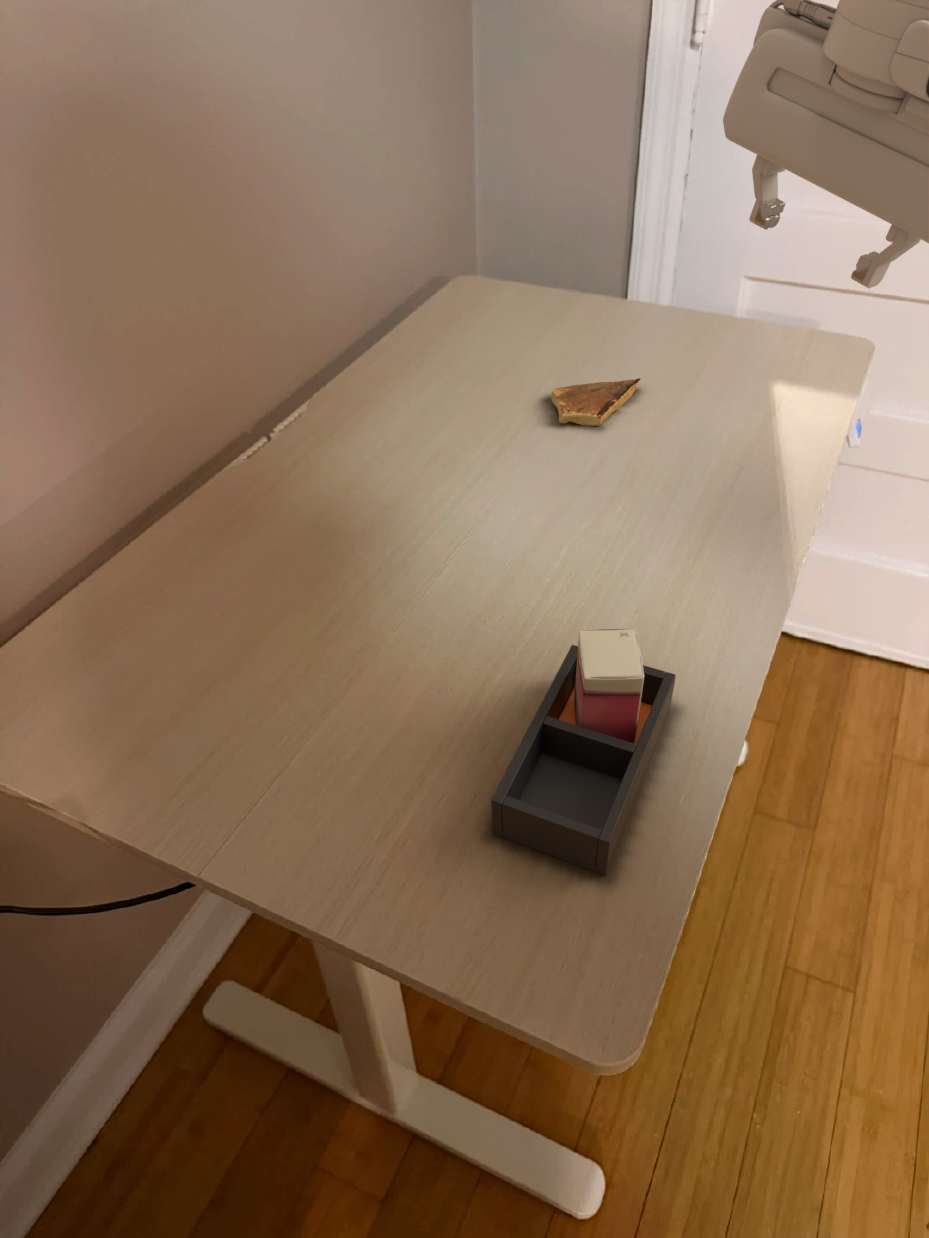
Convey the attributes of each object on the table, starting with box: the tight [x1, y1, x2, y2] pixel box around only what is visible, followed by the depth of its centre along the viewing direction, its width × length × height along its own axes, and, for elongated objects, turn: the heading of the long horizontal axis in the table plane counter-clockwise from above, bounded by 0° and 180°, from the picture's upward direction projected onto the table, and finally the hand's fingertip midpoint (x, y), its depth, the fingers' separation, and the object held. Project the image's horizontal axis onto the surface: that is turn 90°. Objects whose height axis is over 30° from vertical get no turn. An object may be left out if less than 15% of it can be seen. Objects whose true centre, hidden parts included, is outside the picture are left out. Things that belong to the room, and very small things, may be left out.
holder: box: [490, 644, 677, 876], centre depth 65 cm, size 8×16×4 cm, turn 155°
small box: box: [574, 627, 644, 743], centre depth 66 cm, size 5×4×8 cm
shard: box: [550, 377, 641, 427], centre depth 103 cm, size 11×8×2 cm
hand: (811, 252), depth 65 cm, fingers open, 8 cm apart
